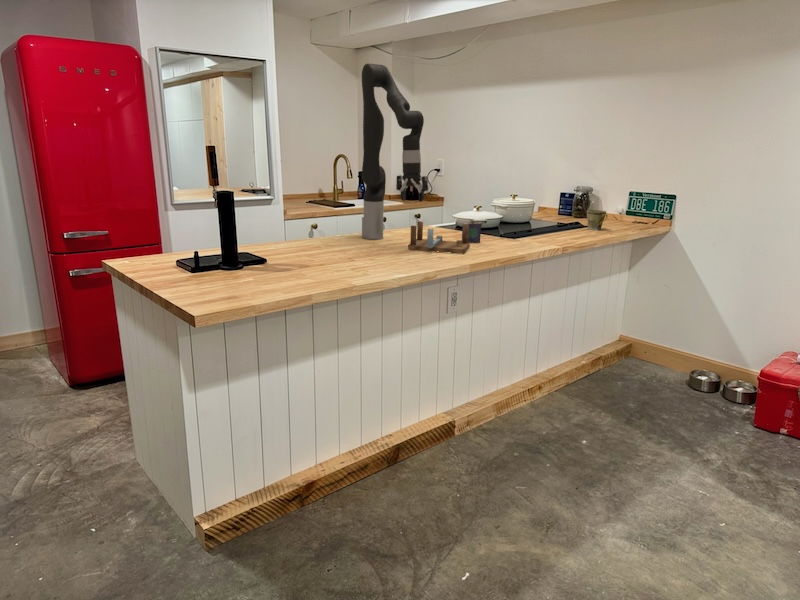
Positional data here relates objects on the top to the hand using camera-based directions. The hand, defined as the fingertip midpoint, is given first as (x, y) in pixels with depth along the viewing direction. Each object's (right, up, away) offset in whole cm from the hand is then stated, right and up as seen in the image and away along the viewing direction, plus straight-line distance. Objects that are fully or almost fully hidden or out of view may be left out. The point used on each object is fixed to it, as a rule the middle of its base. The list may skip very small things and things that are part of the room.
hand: (412, 201), depth 237 cm
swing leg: (+10, -18, +3) cm, 21 cm away
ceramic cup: (+100, -4, +64) cm, 119 cm away
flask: (+27, -16, +21) cm, 38 cm away
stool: (+12, -19, +6) cm, 24 cm away
